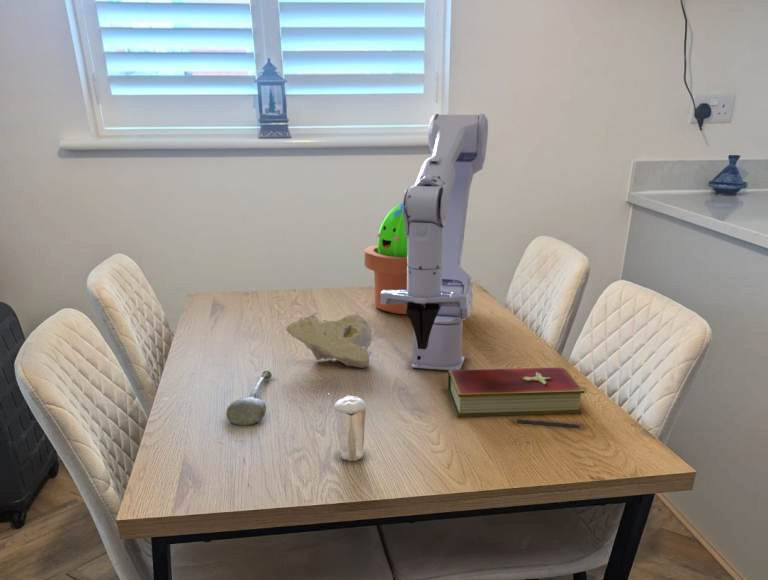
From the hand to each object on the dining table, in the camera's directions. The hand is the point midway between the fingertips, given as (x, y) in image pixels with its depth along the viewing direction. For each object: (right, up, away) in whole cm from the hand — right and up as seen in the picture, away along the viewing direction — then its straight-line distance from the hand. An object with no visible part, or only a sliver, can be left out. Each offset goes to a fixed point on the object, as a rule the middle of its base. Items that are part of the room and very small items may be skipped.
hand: (422, 347), depth 124 cm
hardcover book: (+16, -9, +1) cm, 18 cm away
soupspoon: (-29, -9, +3) cm, 31 cm away
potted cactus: (0, +23, +57) cm, 61 cm away
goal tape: (+22, -10, 0) cm, 24 cm away
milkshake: (-12, -20, -17) cm, 29 cm away
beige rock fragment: (-17, +1, +20) cm, 26 cm away
